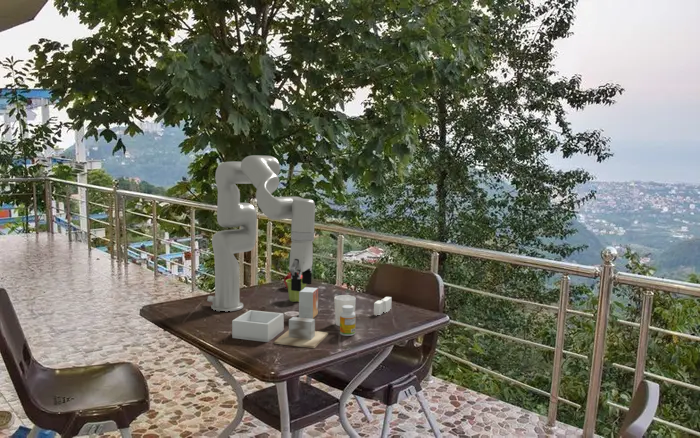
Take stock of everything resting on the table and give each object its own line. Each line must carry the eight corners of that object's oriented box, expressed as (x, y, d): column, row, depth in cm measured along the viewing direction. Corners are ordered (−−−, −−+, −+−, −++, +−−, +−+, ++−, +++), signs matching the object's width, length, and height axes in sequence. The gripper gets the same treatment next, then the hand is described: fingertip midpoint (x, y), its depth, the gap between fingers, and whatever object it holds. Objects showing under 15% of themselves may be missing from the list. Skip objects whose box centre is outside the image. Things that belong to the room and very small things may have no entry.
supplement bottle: (339, 331, 180) (339, 304, 179) (354, 331, 180) (354, 304, 179) (340, 336, 175) (340, 308, 174) (355, 336, 175) (356, 308, 174)
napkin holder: (389, 307, 213) (389, 294, 213) (404, 314, 203) (405, 300, 203) (357, 311, 206) (358, 298, 205) (372, 319, 196) (373, 304, 196)
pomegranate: (307, 287, 245) (308, 268, 244) (300, 291, 236) (301, 271, 235) (288, 285, 247) (288, 266, 247) (280, 289, 238) (281, 269, 237)
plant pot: (295, 296, 226) (295, 277, 226) (311, 300, 221) (312, 280, 220) (281, 300, 219) (281, 280, 218) (297, 304, 213) (297, 284, 213)
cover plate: (274, 344, 167) (274, 323, 166) (290, 331, 180) (290, 311, 179) (314, 349, 163) (314, 327, 162) (328, 335, 176) (328, 315, 176)
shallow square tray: (232, 337, 171) (232, 320, 171) (250, 326, 184) (250, 310, 183) (267, 342, 168) (267, 324, 167) (283, 330, 180) (283, 313, 180)
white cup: (339, 328, 183) (340, 301, 182) (330, 322, 190) (330, 296, 189) (359, 325, 187) (359, 299, 185) (349, 319, 193) (349, 294, 192)
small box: (312, 319, 193) (313, 292, 192) (298, 318, 194) (298, 291, 193) (318, 313, 201) (318, 287, 200) (304, 312, 202) (304, 286, 201)
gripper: (301, 232, 177) (300, 280, 179) (281, 239, 161) (280, 292, 163) (322, 233, 175) (320, 282, 177) (303, 241, 159) (302, 294, 161)
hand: (301, 287), depth 170 cm, fingers open, 9 cm apart
